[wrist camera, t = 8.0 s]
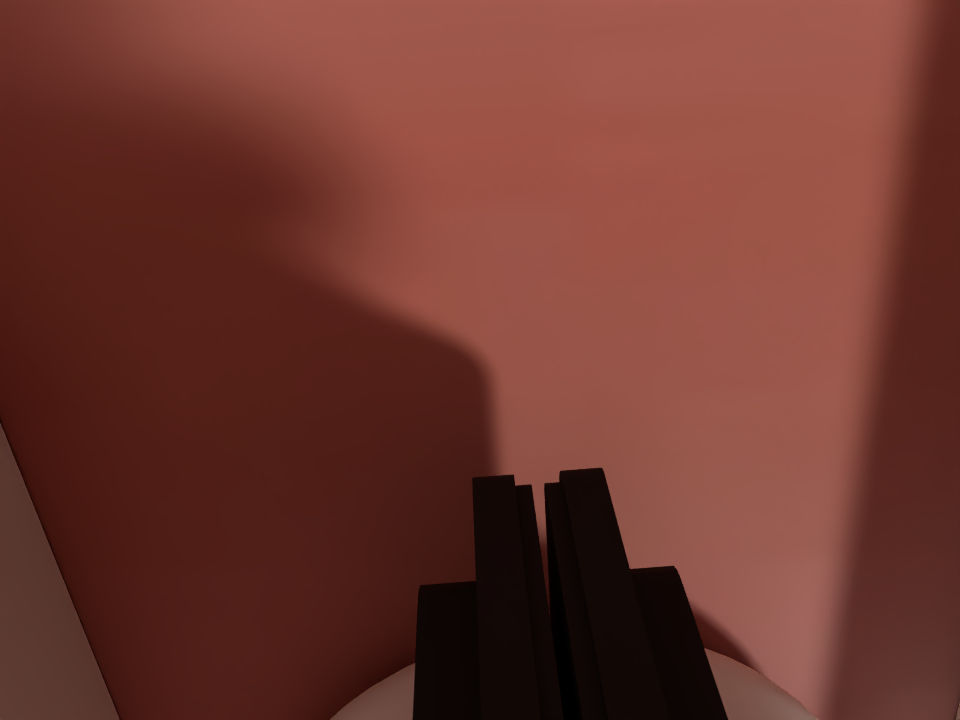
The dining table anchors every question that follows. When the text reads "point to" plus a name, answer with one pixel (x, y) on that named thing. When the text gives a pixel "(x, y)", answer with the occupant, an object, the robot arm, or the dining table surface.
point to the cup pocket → (41, 620)
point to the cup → (744, 692)
